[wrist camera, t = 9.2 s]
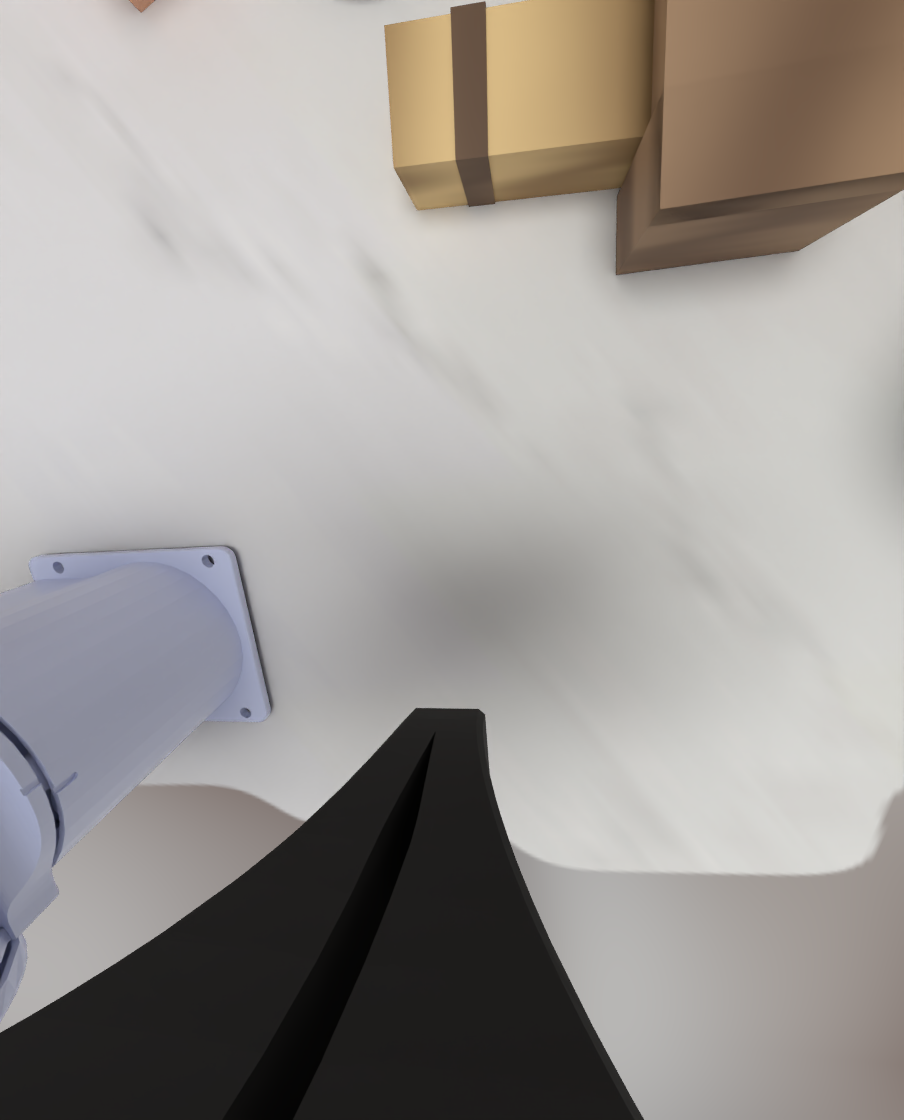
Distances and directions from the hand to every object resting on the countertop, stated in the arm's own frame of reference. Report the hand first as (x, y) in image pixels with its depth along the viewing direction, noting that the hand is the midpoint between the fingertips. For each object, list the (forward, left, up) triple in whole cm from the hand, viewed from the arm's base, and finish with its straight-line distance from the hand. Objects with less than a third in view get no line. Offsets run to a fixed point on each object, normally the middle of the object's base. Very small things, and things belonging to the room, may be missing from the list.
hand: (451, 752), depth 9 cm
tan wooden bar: (+6, +13, -10) cm, 17 cm away
